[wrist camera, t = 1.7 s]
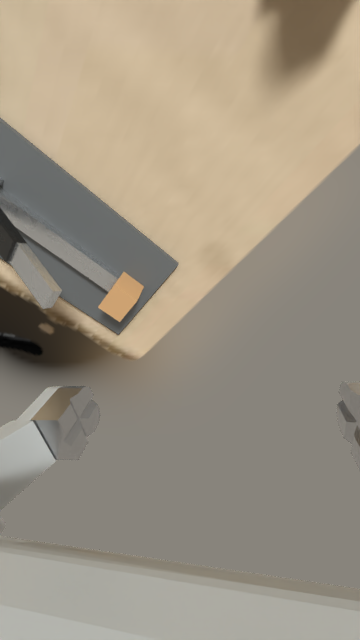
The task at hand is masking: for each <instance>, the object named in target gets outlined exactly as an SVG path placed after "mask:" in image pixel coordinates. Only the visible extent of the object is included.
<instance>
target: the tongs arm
mask: <svg viewBox="0 0 360 640" xmlns="http://www.w3.org/2000/svg"><path fill="white" fill-rule="evenodd" d="M0 255H1V257H2V258H3V260H4V261H7V262H10V264H11V265H12V267H13V268H14V269H15V271H16V272H17V273H18V275H19V276H20V278H21V279H22V280H23V282H24V283H25V285H26V286H27V287H28V289H29V290H30V292H31V293H32V294H33V296H34V297H35V298H36V300H37V301H38V303H39V304H40V305H41V307H42V308H43V309H45V308H51V307H53V305H54V303H55V302H56V300H57V298H58V297H59V295H60V293H61V292H62V290H61V289H60V287H59V286H58V285H57V283H56V282H55V281H54V279H53V278H52V277H51V275H50V274H49V273H48V271H47V270H46V269H45V267H44V266H43V265H42V263H41V262H40V261H39V259H38V258H37V257H36V255H35V254H34V253H33V251H32V250H31V249H30V247H29V246H28V245H27V242H26V241H25V240H24V238H23V237H22V236H21V234H20V233H19V232H18V230H17V229H16V228H15V226H14V225H13V224H12V222H11V221H10V220H9V218H8V217H7V216H6V214H5V213H4V212H3V211H2V209H1V208H0Z"/></svg>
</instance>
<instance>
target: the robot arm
mask: <svg viewBox="0 0 360 640" xmlns="http://www.w3.org/2000/svg"><path fill="white" fill-rule="evenodd" d="M339 394H340V396H341V397H342V399H343V400H342V401H341V402H339V403H338V404H337V420H338V425H339V428H340V431H341V433H342V435H343V437H344V438H345V439H346V440H347V441H348V442H350V443H351V444H352V449H351V454H352V456H353V458H354V460H355V462H356V464H357V466H358V468H359V470H360V381H359V382H342V383H341V385H340V389H339ZM92 397H93V393H92V390H91V388H89V387H86V386H62V387H61V386H57V387H56V386H51V387H49V388H46V389H45V390H44V392H43V393H42V394H41V395H40V396H39V397H38V398H37V399H36V400H35V401H34V402H33V403H32V404H31V405H30V406H29V407H28V408H27V409H26V410H25V412H24V413H23V414H22V415H21V416H20V417H19V418H18V419H17V420H15V421H14V420H13V421H10V422H9V423H7V424H5V425H3V426H2V427H0V511H1V510H2V509H3V508H4V507H5V506H6V505H7V504H9V502H11V501H12V500H13V499H14V498H15V497H16V496H17V495H19V494H20V493H21V492H22V491H23V490H24V489H25V488H26V487H27V486H29V485H30V484H31V483H32V482H33V481H34V480H35V479H36V478H37V477H39V476H40V475H41V474H42V473H43V472H44V471H45V470H46V469H48V468H49V467H50V466H51V465H52V464H53V463H54V462H55V461H56V460H79V458H80V456H81V454H82V453H83V451H84V449H85V447H86V445H87V444H88V436H89V435H90V434H92V433H93V432H94V431H95V429H96V428H97V425H98V423H99V418H100V411H99V407H98V405H97V404H96V403H95V402H94V401H93V400H92ZM4 528H5V521H4V520H3V519H2V518H1V517H0V534H1V533H2V531H3V530H4ZM0 640H360V589H356V588H350V587H344V586H336V585H330V584H323V583H316V582H309V581H303V580H296V579H289V578H282V577H276V576H269V575H262V574H255V573H248V572H242V571H234V570H228V569H221V568H215V567H208V566H201V565H194V564H187V563H180V562H174V561H166V560H160V559H153V558H147V557H140V556H133V555H126V554H120V553H113V552H106V551H98V550H92V549H85V548H78V547H72V546H65V545H58V544H51V543H45V542H38V541H31V540H24V539H17V538H11V537H4V536H0Z"/></svg>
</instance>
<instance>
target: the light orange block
mask: <svg viewBox="0 0 360 640" xmlns="http://www.w3.org/2000/svg"><path fill="white" fill-rule="evenodd" d="M143 288H144V286H143V285H141V284H140V283H139V282H137V281H136V280H135V279H133V278H132V277H131V276H129V275H128V274H127V273H125V272H123V273H122V275H121V276H120V278H119V279H118V280H117V282H116V283H115V284H114V286H113V287H112V289H111V290H110V291H109V293H108V294H107V295H106V297H105V298H104V299H103V301H102V302H101V304H100V305H99V306H98V308H99V309H101V310H102V311H104V312H105V313H107V314H108V315H110V316H111V317H113V318H114V319H116V320H117V321H119V322H120V321H121V320H122V319H123V318H124V316H125V315H126V314H127V313H128V312H129V310H130V309H131V308H132V307H133V306H134V304H135V303H136V302H137V301H138V298H139V296H140V294H141V292H142V290H143Z"/></svg>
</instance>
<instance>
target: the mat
mask: <svg viewBox="0 0 360 640" xmlns="http://www.w3.org/2000/svg"><path fill="white" fill-rule="evenodd" d="M0 177H1V178H2V179H4V181H3V183H2V185H0V188H2V189H3V190H5V191H6V192H7V193H9V194H10V195H11V196H13V197H14V198H15V199H17V200H18V201H20V202H21V203H22V204H24V205H25V206H26V207H28V208H29V209H30V210H32V211H33V212H35V213H36V214H37V215H39V216H40V217H41V218H43V219H44V220H46V221H47V222H48V223H50V224H51V225H52V226H54V227H55V228H56V229H58V230H59V231H61V232H62V233H63V234H65V235H66V236H67V237H69V238H70V239H71V240H73V241H74V242H76V243H77V244H78V245H80V246H81V247H82V248H84V249H85V250H86V251H88V252H89V253H91V254H92V255H93V256H95V257H96V258H97V259H99V260H100V261H101V262H103V263H104V264H106V265H107V266H108V267H110V268H111V269H112V270H114V271H115V272H117V273H118V274H119V275H122V273H123V272H125V273H127V274H128V275H129V276H131V277H132V278H133V279H135V280H136V281H137V282H139V283H140V284H141V285H143V286H144V288H143V290H142V292H141V294H140V296H139V298H138V301H137V302H136V303H135V304H134V306H133V307H132V308H131V309H130V310H129V312H128V313H127V314H126V315H125V316H124V318H123V319H122V320H121V321H120V322H119V321H117V320H116V319H114V318H113V317H111V316H110V315H108V314H107V313H105V312H104V311H102V310H101V309H99V308H98V306H99V305H100V304H101V302H102V301H103V299H104V298H105V297H106V295H107V294H108V293H109V292H108V291H106V290H105V289H104V288H102V287H101V286H99V285H98V284H96V283H95V282H93V281H92V280H91V279H89V278H88V277H86V276H85V275H83V274H82V273H81V272H79V271H78V270H76V269H75V268H73V267H72V266H71V265H69V264H68V263H66V262H65V261H63V260H62V259H61V258H59V257H58V256H56V255H55V254H53V253H52V252H51V251H49V250H48V249H46V248H45V247H43V246H42V245H40V244H39V243H38V242H36V241H35V240H33V239H32V238H30V237H29V236H28V235H26V234H25V233H23V232H22V231H20V230H19V229H18V228H16V227H15V228H16V229H17V230H18V232H19V233H20V234H21V236H22V237H23V238H24V240H25V241H26V242H27V245H28V246H29V247H30V249H31V250H32V251H33V253H34V254H35V255H36V257H37V258H38V259H39V261H40V262H41V263H42V265H43V266H44V267H45V269H46V270H47V271H48V273H49V274H50V275H51V277H52V278H53V279H54V281H55V282H56V283H57V285H58V286H59V287H60V289H61V290H62V292H61V293H60V295H59V296H60V297H61V298H63V299H64V300H66V301H67V302H69V303H70V304H72V305H74V306H75V307H77V308H78V309H80V310H81V311H83V312H84V313H86V314H87V315H89V316H91V317H92V318H94V319H95V320H97V321H98V322H100V323H101V324H103V325H104V326H106V327H107V328H109V329H111V330H112V331H114V332H115V333H117V334H118V335H119V334H120V332H121V331H122V330H123V329H124V328H125V327H126V325H127V324H128V323H129V322H130V321H131V319H132V318H133V317H134V316H135V315H136V314H137V312H138V311H139V310H140V309H141V308H142V307H143V305H144V304H145V303H146V302H147V301H148V300H149V298H150V297H151V296H152V295H153V294H154V293H155V291H156V290H157V289H158V288H159V287H160V286H161V284H162V283H163V282H164V281H165V280H166V279H167V277H168V276H169V275H170V274H171V273H172V272H173V270H174V269H175V268H176V267H177V266H178V262H177V261H175V260H174V259H173V258H172V257H170V256H169V255H168V254H167V253H166V252H164V251H163V250H162V249H161V248H159V247H158V246H157V245H156V244H154V243H153V242H152V241H151V240H150V239H148V238H147V237H146V236H145V235H143V234H142V233H141V232H140V231H139V230H137V229H136V228H135V227H134V226H132V225H131V224H130V223H129V222H127V221H126V220H125V219H124V218H123V217H121V216H120V215H119V214H118V213H116V212H115V211H114V210H113V209H112V208H110V207H109V206H108V205H107V204H105V203H104V202H103V201H102V200H100V199H99V198H98V197H97V196H96V195H94V194H93V193H92V192H91V191H89V190H88V189H87V188H86V187H85V186H83V185H82V184H81V183H80V182H78V181H77V180H76V179H75V178H73V177H72V176H71V175H70V174H69V173H67V172H66V171H65V170H64V169H62V168H61V167H60V166H59V165H58V164H56V163H55V162H54V161H53V160H51V159H50V158H49V157H48V156H46V155H45V154H44V153H43V152H42V151H40V150H39V149H38V148H37V147H35V146H34V145H33V144H32V143H31V142H29V141H28V140H27V139H26V138H24V137H23V136H22V135H21V134H19V133H18V132H17V131H16V130H15V129H13V128H12V127H11V126H10V125H8V124H7V123H6V122H5V121H4V120H2V119H1V118H0ZM0 258H1V259H3V258H2V257H1V255H0ZM6 262H7V261H6ZM7 263H9V264H10V262H7ZM10 265H11V264H10Z"/></svg>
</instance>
